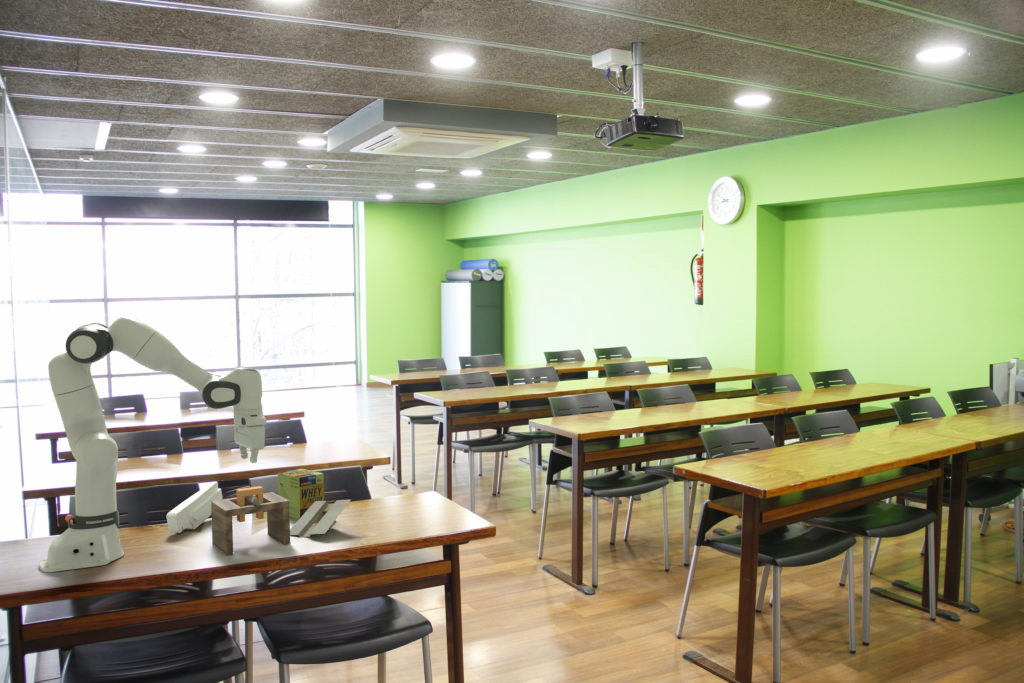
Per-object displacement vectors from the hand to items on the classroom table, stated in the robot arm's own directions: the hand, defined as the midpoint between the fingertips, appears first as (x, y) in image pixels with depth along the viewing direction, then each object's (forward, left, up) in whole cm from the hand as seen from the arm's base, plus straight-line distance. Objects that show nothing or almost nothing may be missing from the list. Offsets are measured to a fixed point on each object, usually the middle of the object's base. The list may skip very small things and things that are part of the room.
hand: (248, 460), depth 249 cm
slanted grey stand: (+23, -1, -28) cm, 36 cm away
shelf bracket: (-8, +35, -28) cm, 45 cm away
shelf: (0, 0, -27) cm, 27 cm away
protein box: (+27, +27, -27) cm, 47 cm away
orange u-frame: (0, 0, -19) cm, 19 cm away
